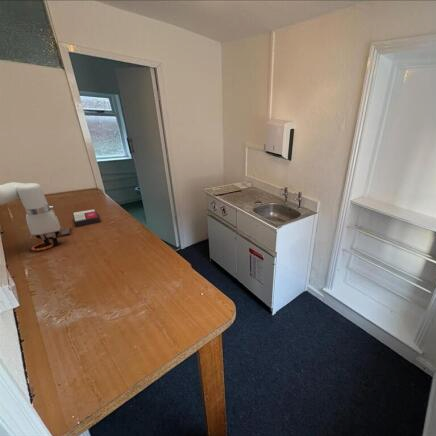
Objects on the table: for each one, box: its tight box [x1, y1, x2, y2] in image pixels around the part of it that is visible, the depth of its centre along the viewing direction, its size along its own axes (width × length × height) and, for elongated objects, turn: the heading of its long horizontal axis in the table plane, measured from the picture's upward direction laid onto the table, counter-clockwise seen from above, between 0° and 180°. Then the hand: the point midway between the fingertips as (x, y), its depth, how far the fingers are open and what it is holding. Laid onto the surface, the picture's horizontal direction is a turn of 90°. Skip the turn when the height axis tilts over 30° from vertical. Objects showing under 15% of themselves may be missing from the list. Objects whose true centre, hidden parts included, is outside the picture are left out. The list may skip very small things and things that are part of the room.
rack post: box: [45, 226, 71, 240], centre depth 123 cm, size 9×9×10 cm
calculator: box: [72, 208, 100, 227], centre depth 141 cm, size 11×4×15 cm
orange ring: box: [30, 241, 55, 252], centre depth 112 cm, size 8×8×1 cm
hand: (52, 244), depth 114 cm, fingers closed on orange ring
